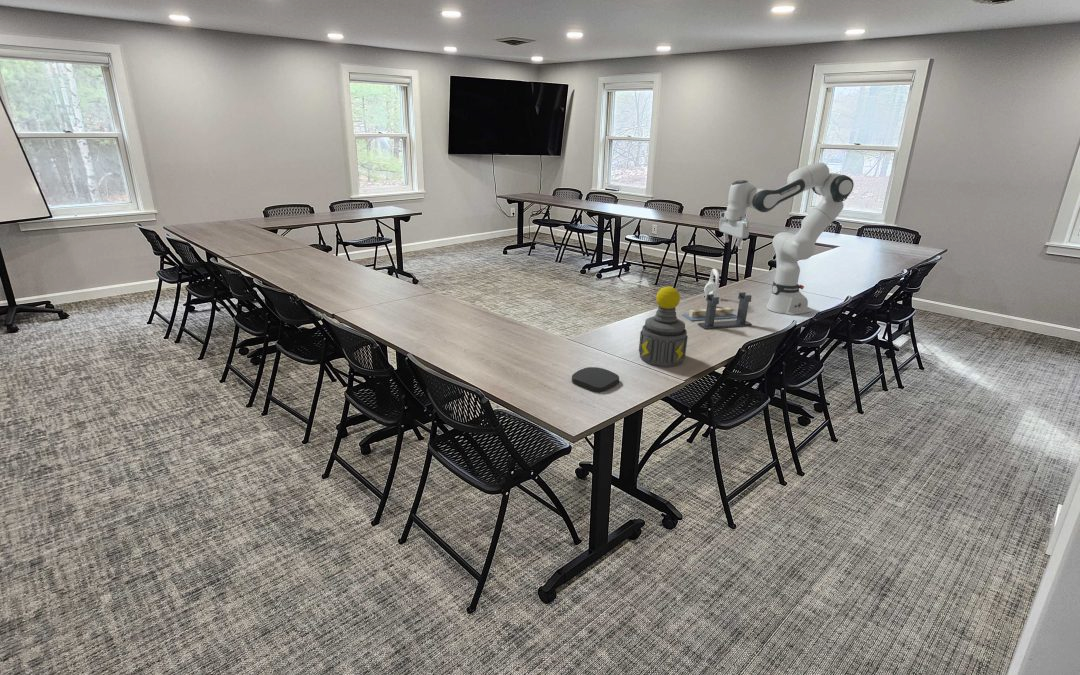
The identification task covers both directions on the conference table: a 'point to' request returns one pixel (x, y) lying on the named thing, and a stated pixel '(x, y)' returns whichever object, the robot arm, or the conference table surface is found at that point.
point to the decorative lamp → (664, 332)
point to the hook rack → (726, 324)
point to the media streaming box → (595, 379)
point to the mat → (704, 317)
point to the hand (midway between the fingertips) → (731, 244)
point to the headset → (713, 285)
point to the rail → (703, 312)
